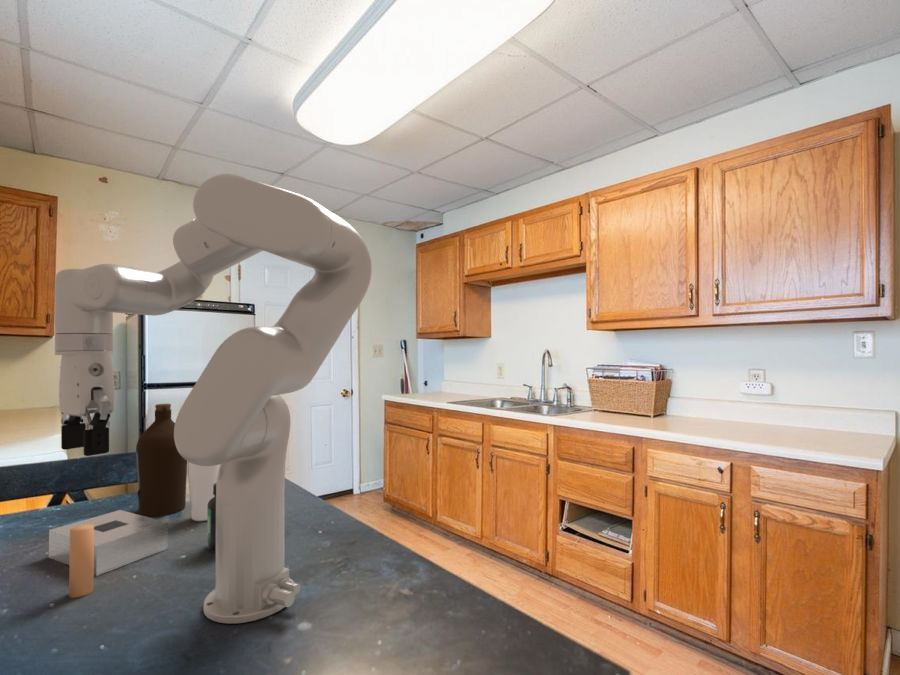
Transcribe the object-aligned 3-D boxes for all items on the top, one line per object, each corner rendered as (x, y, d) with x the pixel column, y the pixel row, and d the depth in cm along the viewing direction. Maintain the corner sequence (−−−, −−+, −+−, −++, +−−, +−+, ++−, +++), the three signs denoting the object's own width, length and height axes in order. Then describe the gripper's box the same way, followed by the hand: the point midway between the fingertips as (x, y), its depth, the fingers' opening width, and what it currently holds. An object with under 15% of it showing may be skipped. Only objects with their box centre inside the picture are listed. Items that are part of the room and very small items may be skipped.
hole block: (167, 548, 89) (167, 522, 90) (96, 576, 79) (96, 545, 79) (119, 534, 97) (119, 509, 97) (48, 557, 86) (49, 530, 86)
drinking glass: (227, 516, 107) (227, 449, 107) (198, 525, 101) (198, 455, 102) (210, 510, 111) (210, 446, 111) (181, 519, 105) (181, 452, 105)
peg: (97, 590, 74) (98, 526, 74) (75, 599, 71) (75, 532, 72) (87, 586, 75) (87, 523, 76) (65, 594, 73) (65, 529, 73)
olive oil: (194, 501, 118) (195, 401, 118) (178, 516, 107) (178, 406, 108) (148, 504, 116) (148, 402, 116) (126, 519, 105) (127, 407, 106)
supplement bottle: (202, 555, 87) (202, 489, 87) (213, 540, 93) (213, 479, 94) (242, 551, 88) (242, 486, 88) (249, 537, 95) (249, 477, 95)
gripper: (133, 344, 75) (133, 452, 75) (91, 346, 85) (91, 442, 85) (76, 344, 69) (75, 462, 68) (38, 347, 79) (37, 450, 78)
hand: (84, 451), depth 77 cm, fingers open, 9 cm apart
